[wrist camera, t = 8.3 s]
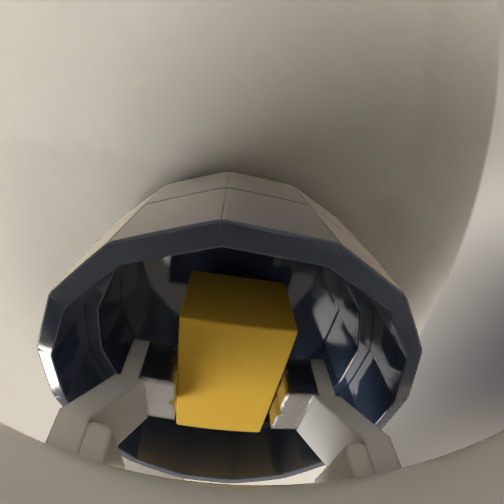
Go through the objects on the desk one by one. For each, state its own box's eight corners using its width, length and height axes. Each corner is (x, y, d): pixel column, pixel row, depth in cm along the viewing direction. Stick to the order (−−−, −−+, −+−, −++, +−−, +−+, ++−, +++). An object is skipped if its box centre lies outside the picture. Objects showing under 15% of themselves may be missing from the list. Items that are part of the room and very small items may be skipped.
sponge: (191, 269, 9) (179, 317, 7) (284, 282, 10) (299, 331, 7) (183, 375, 11) (176, 424, 9) (255, 383, 12) (259, 432, 9)
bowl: (350, 150, 10) (446, 185, 5) (352, 366, 14) (386, 454, 9) (70, 207, 10) (-21, 274, 5) (155, 394, 14) (137, 481, 9)
